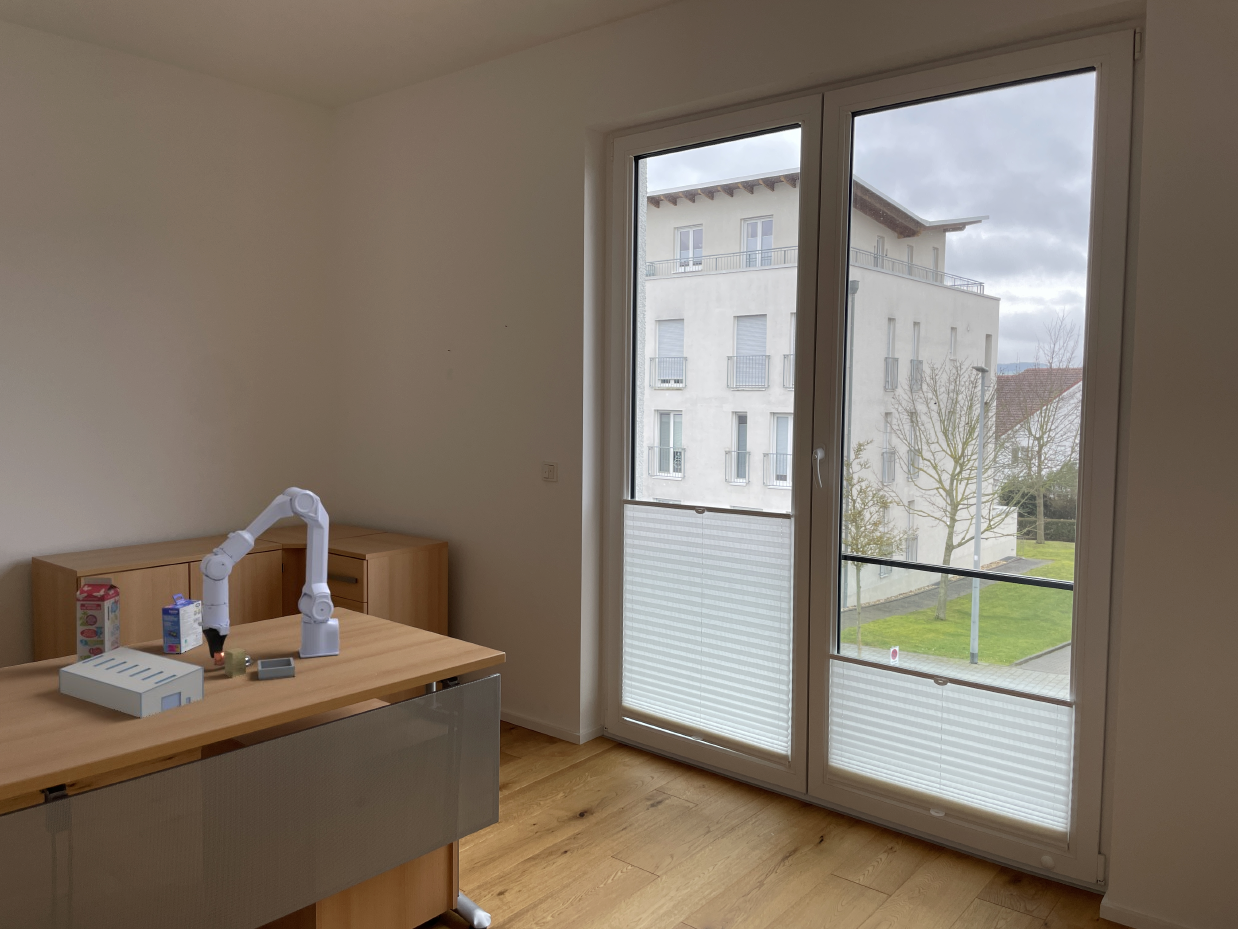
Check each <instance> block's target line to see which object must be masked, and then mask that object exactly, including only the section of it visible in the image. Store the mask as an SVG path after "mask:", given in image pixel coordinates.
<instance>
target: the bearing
mask: <svg viewBox="0 0 1238 929" xmlns="http://www.w3.org/2000/svg"><path fill="white" fill-rule="evenodd" d="M252 663H253V664H254V660H253V659H250V661H249V662H246V667H249V666H248V665H250V666H252V665H253V664H252ZM251 664H252V665H251Z"/></svg>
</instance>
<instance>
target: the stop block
mask: <svg viewBox="0 0 1238 929" xmlns="http://www.w3.org/2000/svg"><path fill="white" fill-rule="evenodd" d="M224 651H225V665H224V676H226V675H228V676H231V677H235V678H237V677H236V676H239V677H241V676H240V675H243V676H245V675H244V674H246V675H247V666H246V655H247V650H246V649H243V648H240V647H235V648H231V649H227V650H224ZM228 676H227V677H228ZM231 677H230V678H231Z"/></svg>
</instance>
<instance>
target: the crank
mask: <svg viewBox="0 0 1238 929" xmlns="http://www.w3.org/2000/svg"><path fill="white" fill-rule="evenodd" d="M225 651H226V650H223V651H216V652H214V658H213V665H214V666H216V667H223V666H225ZM250 660H251V655H249V654H246V662H249V661H250Z"/></svg>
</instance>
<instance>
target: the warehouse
mask: <svg viewBox="0 0 1238 929" xmlns="http://www.w3.org/2000/svg"><path fill="white" fill-rule="evenodd" d="M204 674H205V672H204V666H202V665H197V664H194V663H191V662H190V663H189V662H187V661H183V660H182V661H181V660H178V659H174V658H170V657H167V656H163V655H158V654H154V653H151V652H147V651H143V650H138V649H135V648H130V647H126V646H123V645H122V646H121V645H120V647H119V648H116V649H113V650H111V651H108V652H105V653H102V654H100V655H97V656H94V657H91V658H89V659H86V660H83V661H80V662H78V663H77V662H75V663H73V664H69V665H67V666H64V667H61V668H58V685H59V686H58V687H59V688H58V689H59V693H62V694H64V695H67V696H71V697H74V698H77V699H81V700H83V701H86V702H89V703H92V704H95V705H99V706H103V707H105V708H109V709H111V710H114V709H115V711H117V710H118V712H120V711H121V712H120V713H125V714H127V715H131V716H133V717H136V718H139V717H140V718H139V719H143V718H142V717H144V718H147V717H150V716H153V715H156V714H159V712H160V713H162V712H165V711H168V710H172V709H174V708H173V707H175V708H178V707H181V706H180V705H182V706H184V704H185V705H188V704H191V702H192V703H194V702H193V701H195V702H197V700H198V701H201V700H204V699H205V695H204V694H205V689H204V688H205V685H204V684H205V682H204V681H205V680H204V679H205V675H204ZM200 699H201V700H200ZM187 703H188V704H187ZM177 706H178V707H177ZM171 708H172V709H171ZM167 709H168V710H167ZM164 710H165V711H164ZM155 713H156V714H155ZM152 714H153V715H152ZM149 715H150V716H149ZM146 716H147V717H146Z"/></svg>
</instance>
